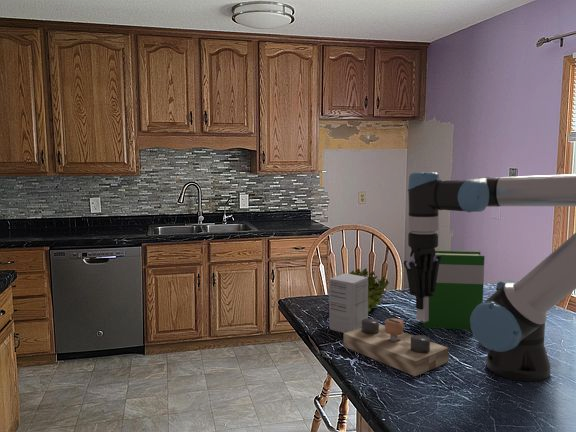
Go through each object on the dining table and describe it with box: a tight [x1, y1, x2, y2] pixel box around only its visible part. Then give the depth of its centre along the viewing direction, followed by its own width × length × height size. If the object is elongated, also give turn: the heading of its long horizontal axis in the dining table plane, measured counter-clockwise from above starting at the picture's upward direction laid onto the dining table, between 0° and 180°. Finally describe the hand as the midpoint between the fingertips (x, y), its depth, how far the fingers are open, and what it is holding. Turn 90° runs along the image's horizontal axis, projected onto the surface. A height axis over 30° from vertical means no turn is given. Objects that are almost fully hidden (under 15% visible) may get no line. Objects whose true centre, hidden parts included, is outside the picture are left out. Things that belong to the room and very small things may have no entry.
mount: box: [343, 323, 450, 377], centre depth 144 cm, size 26×14×4 cm, turn 38°
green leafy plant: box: [348, 267, 390, 313], centre depth 186 cm, size 18×16×16 cm
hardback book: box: [422, 249, 486, 331], centre depth 166 cm, size 18×7×24 cm, turn 80°
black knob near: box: [411, 334, 431, 353], centre depth 136 cm, size 5×5×7 cm
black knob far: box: [362, 318, 380, 334], centre depth 150 cm, size 5×5×7 cm
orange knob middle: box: [384, 317, 404, 343], centre depth 143 cm, size 5×5×7 cm
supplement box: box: [328, 272, 369, 334], centre depth 164 cm, size 10×9×17 cm
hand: (422, 320), depth 135 cm, fingers closed
